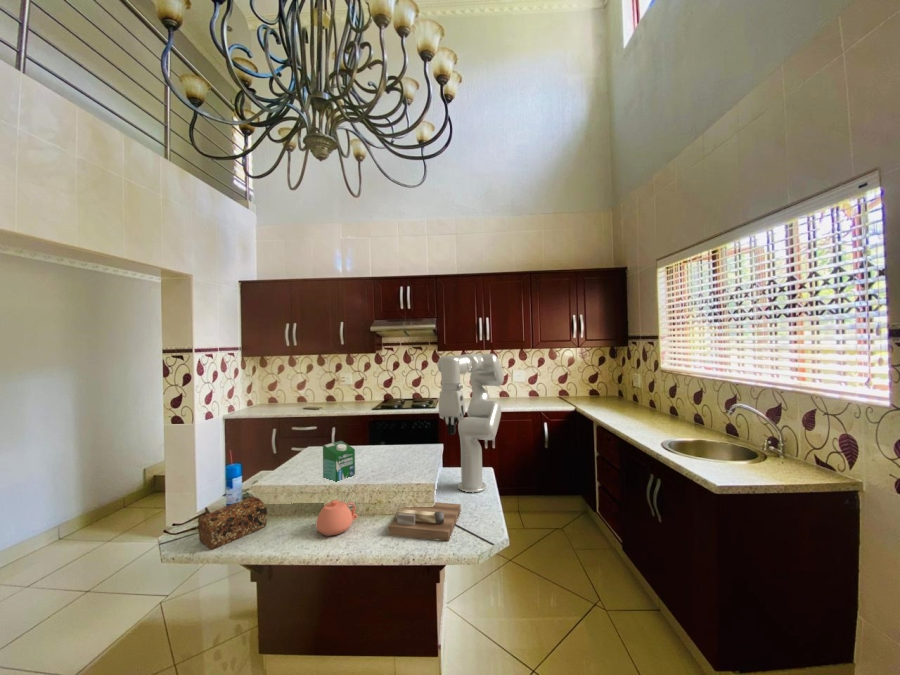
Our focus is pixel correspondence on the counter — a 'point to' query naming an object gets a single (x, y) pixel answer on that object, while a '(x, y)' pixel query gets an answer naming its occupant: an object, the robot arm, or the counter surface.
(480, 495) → the counter surface
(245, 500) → the bread
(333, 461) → the milk carton
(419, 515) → the folding leg
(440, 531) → the wooden board
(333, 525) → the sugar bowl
